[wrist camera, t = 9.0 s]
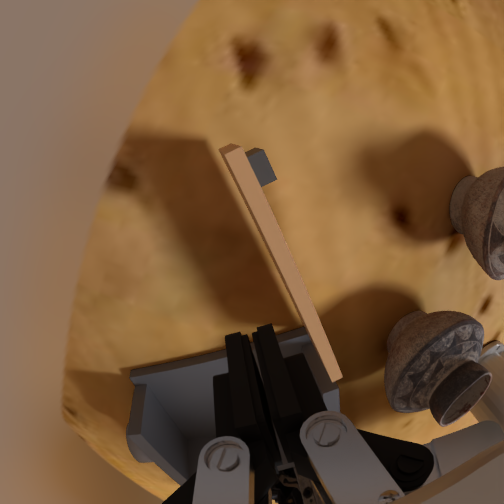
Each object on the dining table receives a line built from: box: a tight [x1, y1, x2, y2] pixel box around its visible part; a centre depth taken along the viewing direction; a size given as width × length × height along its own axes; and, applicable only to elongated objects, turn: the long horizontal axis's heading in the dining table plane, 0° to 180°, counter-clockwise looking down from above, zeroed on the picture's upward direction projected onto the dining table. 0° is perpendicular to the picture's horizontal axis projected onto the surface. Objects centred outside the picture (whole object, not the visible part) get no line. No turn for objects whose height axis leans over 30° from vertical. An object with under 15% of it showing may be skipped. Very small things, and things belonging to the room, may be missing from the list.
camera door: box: [218, 144, 343, 382], centre depth 18 cm, size 16×2×5 cm, turn 25°
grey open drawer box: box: [126, 327, 340, 486], centre depth 23 cm, size 18×12×7 cm
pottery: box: [384, 167, 504, 427], centre depth 20 cm, size 11×25×12 cm, turn 163°
